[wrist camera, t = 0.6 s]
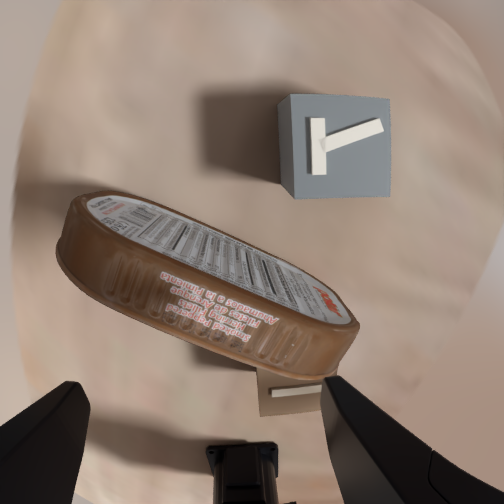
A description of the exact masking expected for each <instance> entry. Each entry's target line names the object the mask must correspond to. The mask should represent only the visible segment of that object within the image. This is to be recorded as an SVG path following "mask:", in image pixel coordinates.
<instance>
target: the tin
mask: <svg viewBox="0 0 504 504" xmlns="http://www.w3.org/2000/svg"><path fill="white" fill-rule="evenodd" d="M56 258H57V262H58V264H59V265H60V267H61V269H62V271H63V272H64V273H65V275H66V276H67V277H68V278H69V279H70V280H71V281H72V282H73V283H74V284H75V285H76V286H77V287H78V288H79V289H80V290H81V291H83V292H84V293H86V294H87V295H88V296H90V297H91V298H93V299H95V300H96V301H98V302H100V303H102V304H103V305H105V306H107V307H109V308H112V309H113V310H115V311H117V312H120V313H122V314H124V315H126V316H128V317H131V318H133V319H135V320H138V321H140V322H142V323H144V324H146V325H149V326H151V327H153V328H155V329H157V330H160V331H162V332H165V333H167V334H170V335H172V336H175V337H177V338H179V339H182V340H184V341H187V342H189V343H192V344H195V345H197V346H199V347H202V348H204V349H207V350H209V351H212V352H214V353H217V354H221V355H223V356H226V357H228V358H231V359H233V360H236V361H239V362H242V363H245V364H248V365H251V366H253V367H256V368H259V369H262V370H265V371H268V372H270V373H274V374H277V375H281V376H284V377H288V378H292V379H297V380H319V379H323V378H324V377H328V376H331V375H332V374H333V373H334V372H335V371H336V370H337V368H338V366H339V362H340V361H341V359H342V358H343V356H344V355H345V353H346V352H347V350H348V349H349V347H350V346H351V344H352V343H353V341H354V339H355V338H356V336H357V334H358V332H359V329H360V323H359V322H358V321H357V320H356V318H355V317H354V315H353V314H352V313H351V311H350V310H349V309H348V308H347V307H346V305H345V304H344V303H343V301H342V300H341V298H340V297H339V296H338V295H337V293H336V292H335V291H333V290H332V289H331V288H329V287H328V286H327V285H326V284H324V283H323V282H321V281H320V280H318V279H317V278H315V277H314V276H312V275H310V274H309V273H307V272H305V271H304V270H302V269H300V268H298V267H296V266H295V265H293V264H291V263H289V262H287V261H285V260H283V259H281V258H278V257H276V256H274V255H272V254H270V253H267V252H265V251H263V250H261V249H259V248H257V247H255V246H253V245H251V244H248V243H246V242H244V241H242V240H240V239H238V238H236V237H234V236H231V235H229V234H227V233H225V232H223V231H220V230H218V229H216V228H214V227H211V226H209V225H207V224H205V223H202V222H200V221H198V220H196V219H193V218H191V217H189V216H187V215H184V214H182V213H180V212H177V211H175V210H173V209H171V208H168V207H166V206H163V205H160V204H158V203H155V202H152V201H149V200H146V199H144V198H141V197H137V196H134V195H130V194H126V193H121V192H115V191H100V192H95V193H89V194H84V195H81V196H78V197H77V198H75V199H73V201H72V202H71V205H70V207H69V210H68V213H67V216H66V220H65V224H64V227H63V231H62V235H61V237H60V239H59V240H58V242H57V245H56Z"/></svg>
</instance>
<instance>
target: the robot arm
mask: <svg viewBox="0 0 504 504" xmlns="http://www.w3.org/2000/svg"><path fill="white" fill-rule="evenodd" d="M320 406H321V412H322V417H323V423H324V428H325V434H326V440H327V445H328V451H329V456H330V459H331V463H332V466H333V469H334V472H335V475H336V478H337V481H338V485H339V488H340V491H341V494H342V497H343V500H344V503H345V504H504V492H502V491H500V490H498V489H496V488H494V487H493V486H490V485H489V484H487V483H485V482H483V481H481V480H479V479H477V478H476V477H474V476H472V475H470V474H469V473H467V472H465V471H464V470H462V469H460V468H459V467H457V466H456V465H454V464H453V463H451V462H450V461H449V460H447V459H446V458H444V457H443V456H442V455H440V454H439V453H438V452H436V451H435V450H433V451H432V448H431V447H429V446H428V445H427V444H426V443H424V442H423V441H422V440H420V439H419V438H418V437H416V436H415V435H414V434H412V433H411V432H410V431H409V430H407V429H406V428H405V427H403V426H402V425H401V424H399V423H398V422H397V421H396V420H394V419H393V418H392V417H391V416H389V415H388V414H387V413H386V412H384V411H383V410H382V409H380V408H379V407H378V406H377V405H375V404H374V403H373V402H372V401H370V400H369V399H368V398H367V397H365V396H364V395H363V394H362V393H360V392H359V391H358V390H357V389H356V388H354V387H353V386H352V385H351V384H349V383H348V382H347V381H346V380H344V379H343V378H342V377H341V376H339V375H335V376H328V377H324V378H323V380H322V388H321V396H320ZM89 416H90V403H89V400H88V398H87V396H86V394H85V392H84V390H83V388H82V386H81V384H80V383H79V382H74V381H65V382H63V383H62V384H61V385H59V386H58V387H56V388H55V389H53V390H52V391H51V392H49V393H48V394H46V395H45V396H43V397H42V398H40V399H39V400H38V401H36V402H35V403H33V404H32V405H30V406H29V407H28V408H26V409H25V410H23V411H22V412H21V413H19V414H17V415H16V416H15V417H13V418H12V419H10V420H9V421H7V422H6V423H5V424H3V425H2V426H0V504H71V503H72V498H73V494H74V490H75V485H76V481H77V477H78V473H79V469H80V465H81V461H82V457H83V452H84V446H85V440H86V433H87V427H88V421H89ZM206 454H207V457H208V461H209V464H210V467H211V470H212V474H213V477H214V487H213V504H279V502H278V494H277V486H276V478H277V477H278V445H277V444H275V443H269V444H256V445H239V446H209V447H207V448H206ZM285 504H296V501H295V502H290V503H285Z"/></svg>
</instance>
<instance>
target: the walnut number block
mask: <svg viewBox="0 0 504 504" xmlns="http://www.w3.org/2000/svg"><path fill="white" fill-rule="evenodd" d="M337 369H338V368H337ZM256 375H257V387H258V399H259V411H260V417H263V416H275V415H286V414H295V413H304V412H311V411H319V410H321V406H320V396H321V388H322V380H323V379H319V380H297V379H292V378H288V377H284V376H281V375H277V374H274V373H270V372H268V371H265V370H262V369H259V368H256ZM335 375H337V370H336V371H335V372H334V373H333V374H332V375H331V376H335Z"/></svg>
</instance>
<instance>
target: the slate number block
mask: <svg viewBox="0 0 504 504" xmlns="http://www.w3.org/2000/svg"><path fill="white" fill-rule="evenodd" d="M277 110H278V129H279V150H280V174H281V185H282V186H283V187H284V188H285V189H286V191H287V192H288V193H289V194H290V195H291V196H292V197H293V198H294V199H317V198H349V197H390V188H391V121H390V99H385V98H375V97H363V96H349V95H329V94H289V95H288V96H287V97H286V98H285V99H283V100H282V101H281V102H280V103H278V104H277Z"/></svg>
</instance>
